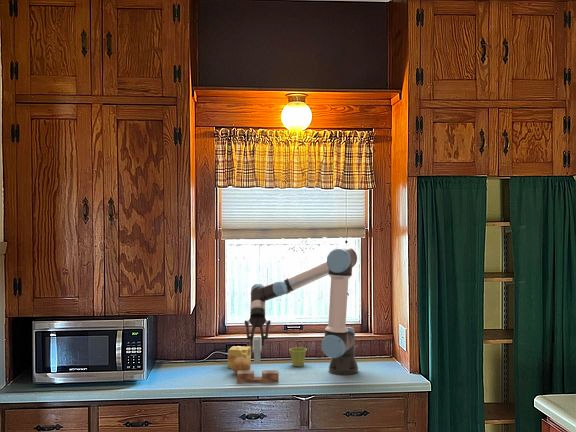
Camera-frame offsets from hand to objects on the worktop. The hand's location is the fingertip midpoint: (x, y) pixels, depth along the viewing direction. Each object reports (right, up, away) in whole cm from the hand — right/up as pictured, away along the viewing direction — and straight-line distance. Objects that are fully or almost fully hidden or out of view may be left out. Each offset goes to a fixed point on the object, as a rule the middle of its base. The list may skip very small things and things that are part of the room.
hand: (257, 350), depth 319 cm
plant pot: (+20, -15, +35) cm, 43 cm away
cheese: (-11, -15, +33) cm, 38 cm away
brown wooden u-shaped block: (0, -15, +2) cm, 16 cm away
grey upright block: (0, -5, +2) cm, 6 cm away
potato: (-9, -16, +16) cm, 24 cm away
